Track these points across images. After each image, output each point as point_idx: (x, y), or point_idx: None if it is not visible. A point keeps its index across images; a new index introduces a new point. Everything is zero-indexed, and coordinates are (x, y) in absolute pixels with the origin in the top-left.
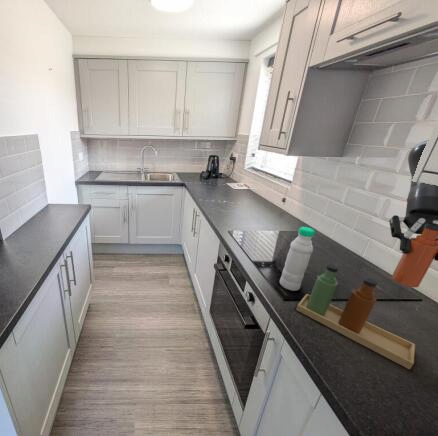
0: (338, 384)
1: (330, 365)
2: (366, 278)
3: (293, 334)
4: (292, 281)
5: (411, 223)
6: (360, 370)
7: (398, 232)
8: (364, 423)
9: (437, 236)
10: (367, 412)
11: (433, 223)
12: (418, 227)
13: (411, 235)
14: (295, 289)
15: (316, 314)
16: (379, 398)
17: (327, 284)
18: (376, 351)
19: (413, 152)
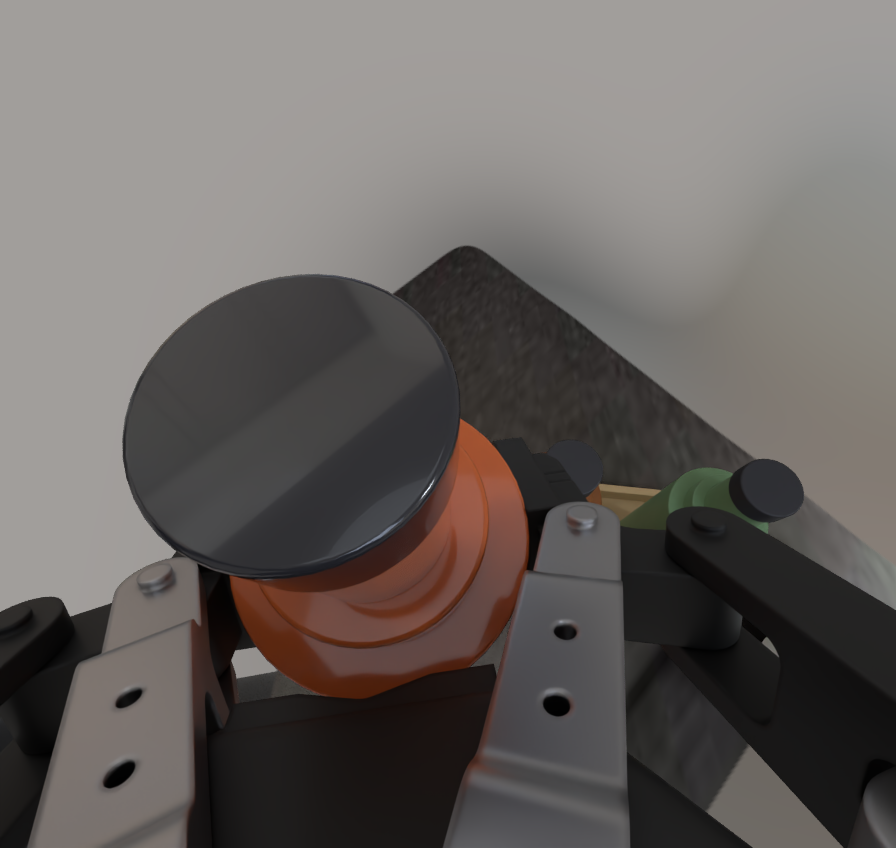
0: (514, 299)
1: (538, 337)
2: (595, 477)
3: (644, 374)
4: None
5: (687, 816)
6: (478, 372)
7: (706, 511)
8: (465, 252)
9: (209, 667)
10: (461, 276)
11: (286, 508)
12: (518, 645)
13: (544, 536)
14: (765, 642)
15: (632, 487)
16: (441, 323)
17: (701, 468)
18: None
19: None
